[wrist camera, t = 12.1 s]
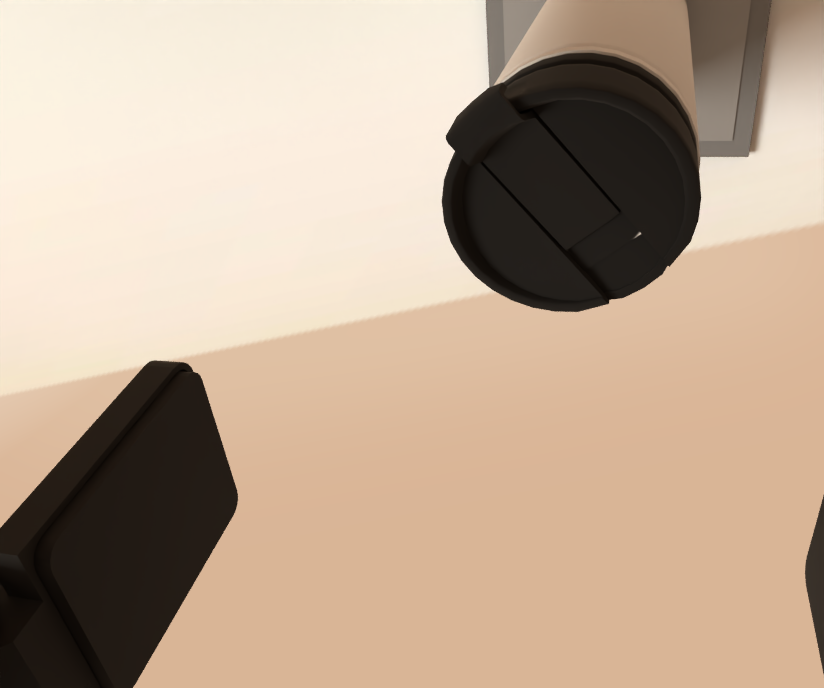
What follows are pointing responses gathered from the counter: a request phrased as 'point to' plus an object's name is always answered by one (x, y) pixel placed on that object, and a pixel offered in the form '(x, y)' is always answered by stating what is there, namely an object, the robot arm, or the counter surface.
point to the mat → (711, 59)
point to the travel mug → (580, 157)
